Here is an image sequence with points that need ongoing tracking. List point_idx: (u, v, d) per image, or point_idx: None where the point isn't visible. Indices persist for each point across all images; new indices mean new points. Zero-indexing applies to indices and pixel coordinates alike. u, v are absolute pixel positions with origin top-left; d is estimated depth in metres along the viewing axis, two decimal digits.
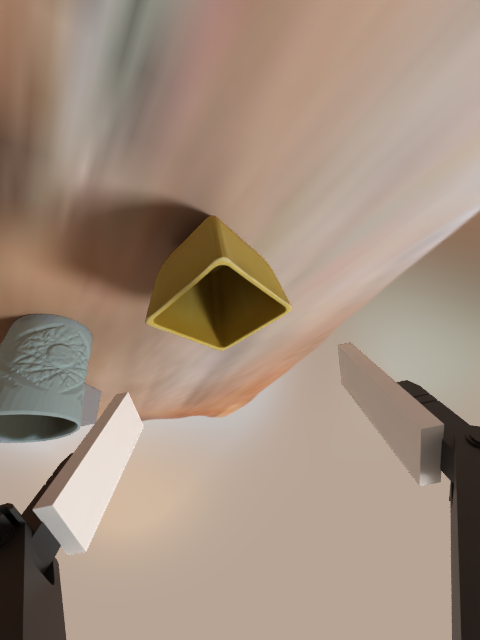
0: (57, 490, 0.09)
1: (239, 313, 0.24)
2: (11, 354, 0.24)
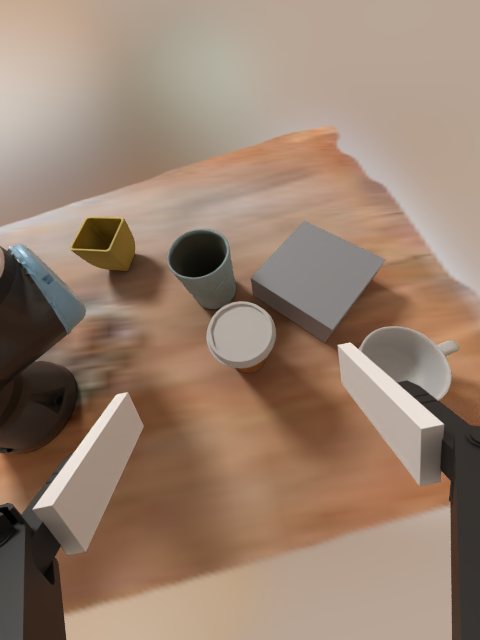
0: (57, 490, 0.09)
1: (115, 228, 0.51)
2: (188, 290, 0.43)
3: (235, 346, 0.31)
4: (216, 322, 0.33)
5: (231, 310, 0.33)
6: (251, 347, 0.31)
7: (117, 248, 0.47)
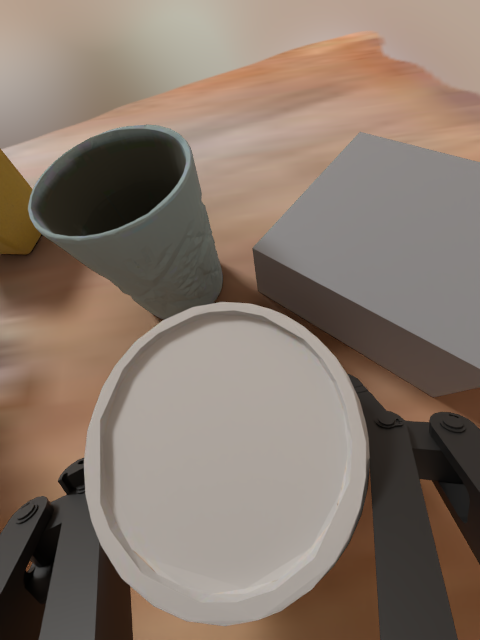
0: None
1: None
2: None
3: (198, 506, 0.07)
4: (131, 384, 0.09)
5: (190, 336, 0.09)
6: (272, 517, 0.06)
7: None
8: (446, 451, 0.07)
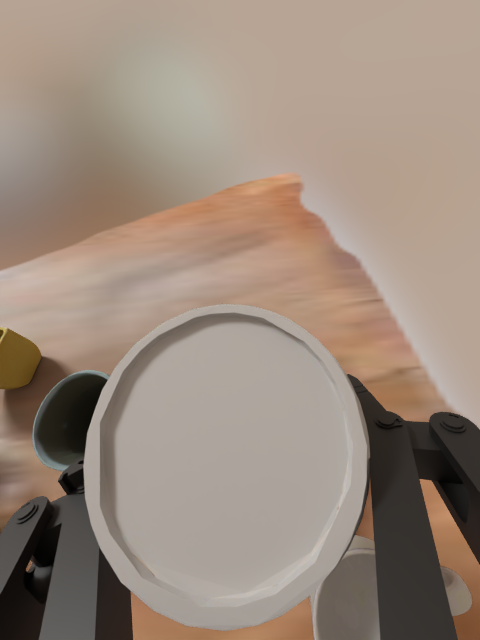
0: None
1: None
2: None
3: (198, 510, 0.07)
4: (131, 386, 0.09)
5: (190, 338, 0.09)
6: (272, 521, 0.06)
7: None
8: (446, 451, 0.07)
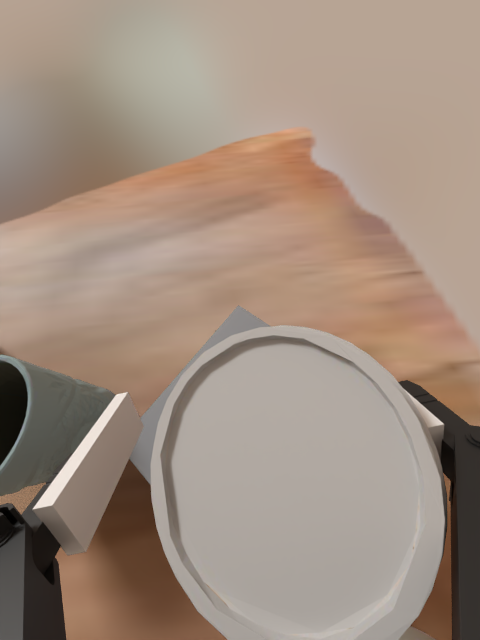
0: (57, 490, 0.09)
1: None
2: None
3: (261, 542, 0.07)
4: (183, 417, 0.09)
5: (232, 364, 0.09)
6: (340, 558, 0.06)
7: None
8: None
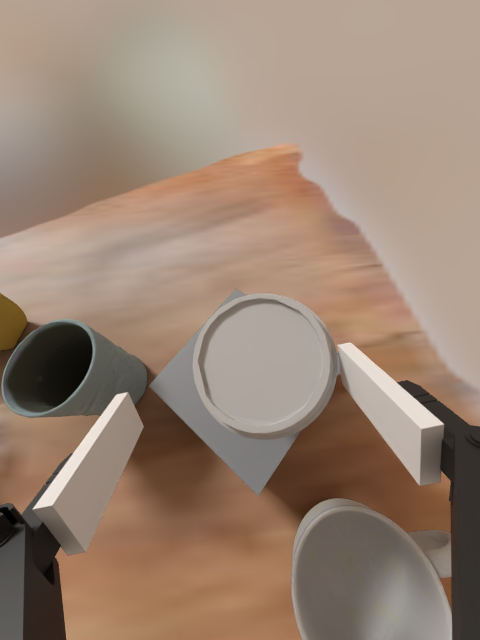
0: (57, 490, 0.09)
1: None
2: None
3: (251, 394, 0.14)
4: (209, 343, 0.16)
5: (236, 314, 0.16)
6: (286, 395, 0.14)
7: None
8: None
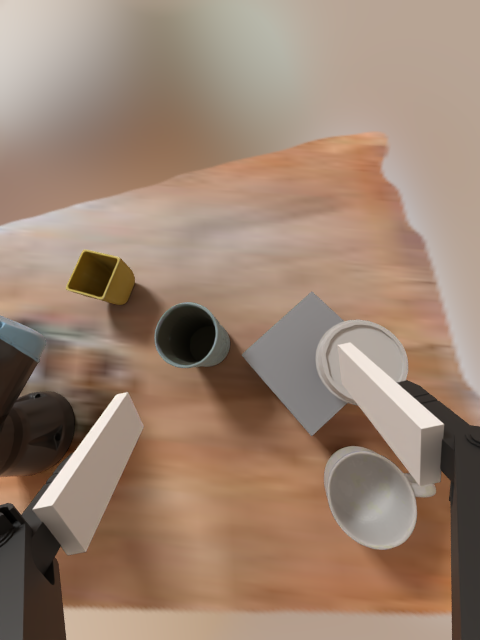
0: (57, 490, 0.09)
1: (113, 262, 0.48)
2: None
3: None
4: (332, 344, 0.27)
5: (352, 331, 0.27)
6: None
7: (112, 292, 0.45)
8: None
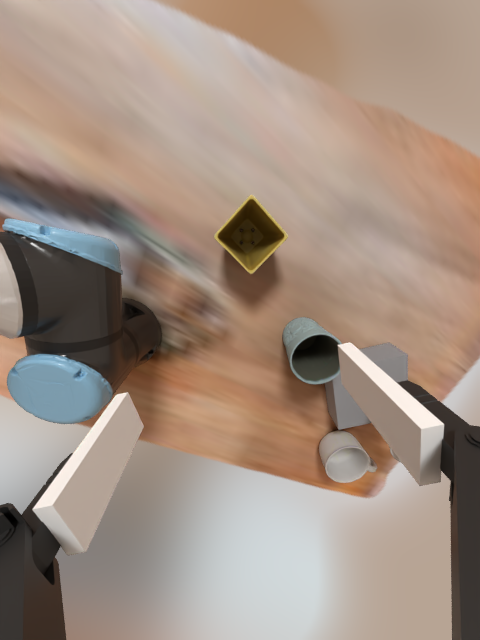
0: (57, 490, 0.09)
1: (269, 223, 0.40)
2: (286, 346, 0.49)
3: None
4: None
5: None
6: None
7: None
8: None
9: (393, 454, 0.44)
